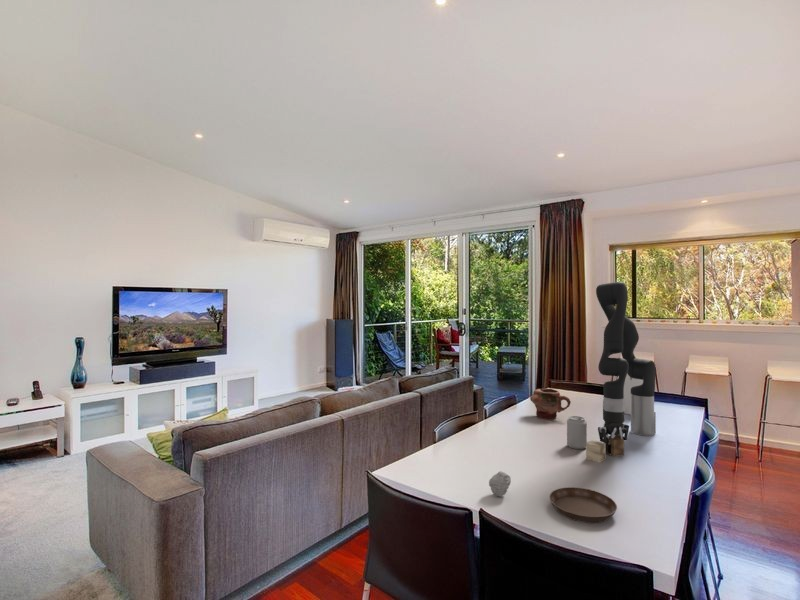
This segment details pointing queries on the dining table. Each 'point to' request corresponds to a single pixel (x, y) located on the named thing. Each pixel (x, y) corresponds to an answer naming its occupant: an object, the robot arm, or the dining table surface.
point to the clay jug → (548, 403)
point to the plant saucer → (583, 504)
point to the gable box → (629, 392)
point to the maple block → (595, 451)
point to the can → (576, 432)
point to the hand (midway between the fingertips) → (613, 452)
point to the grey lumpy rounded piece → (500, 483)
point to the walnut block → (617, 446)
